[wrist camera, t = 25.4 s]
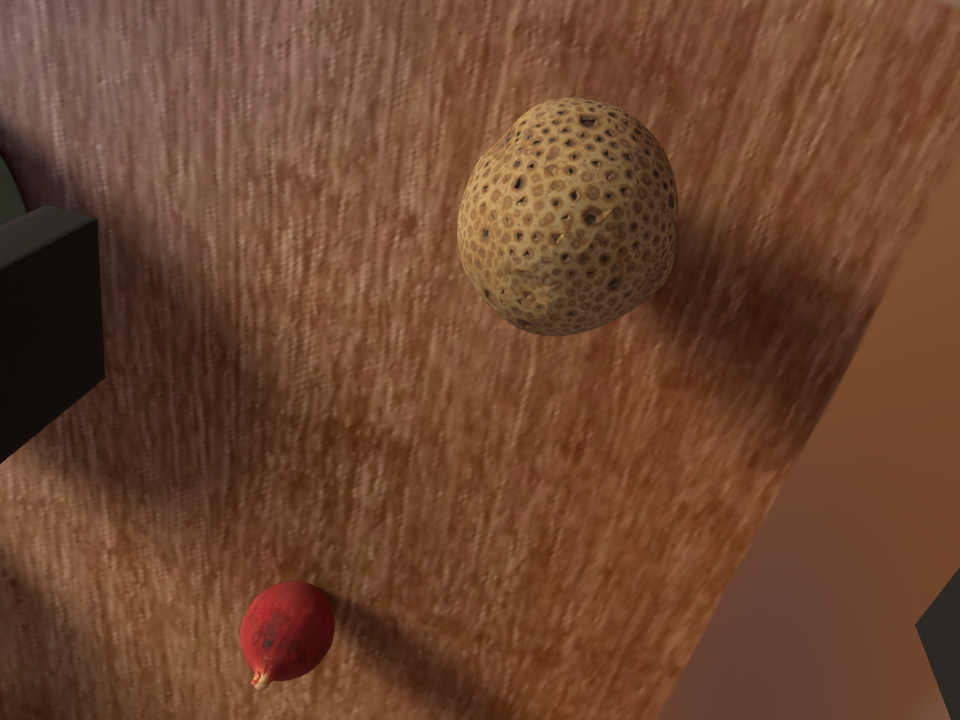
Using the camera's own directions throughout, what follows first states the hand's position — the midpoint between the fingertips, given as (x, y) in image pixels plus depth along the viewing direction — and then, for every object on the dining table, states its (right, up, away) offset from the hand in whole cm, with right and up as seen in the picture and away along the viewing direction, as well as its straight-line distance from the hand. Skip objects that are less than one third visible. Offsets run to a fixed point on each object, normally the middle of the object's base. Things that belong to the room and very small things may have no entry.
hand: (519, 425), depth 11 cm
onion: (-12, -14, +42) cm, 46 cm away
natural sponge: (+4, +9, +25) cm, 27 cm away
